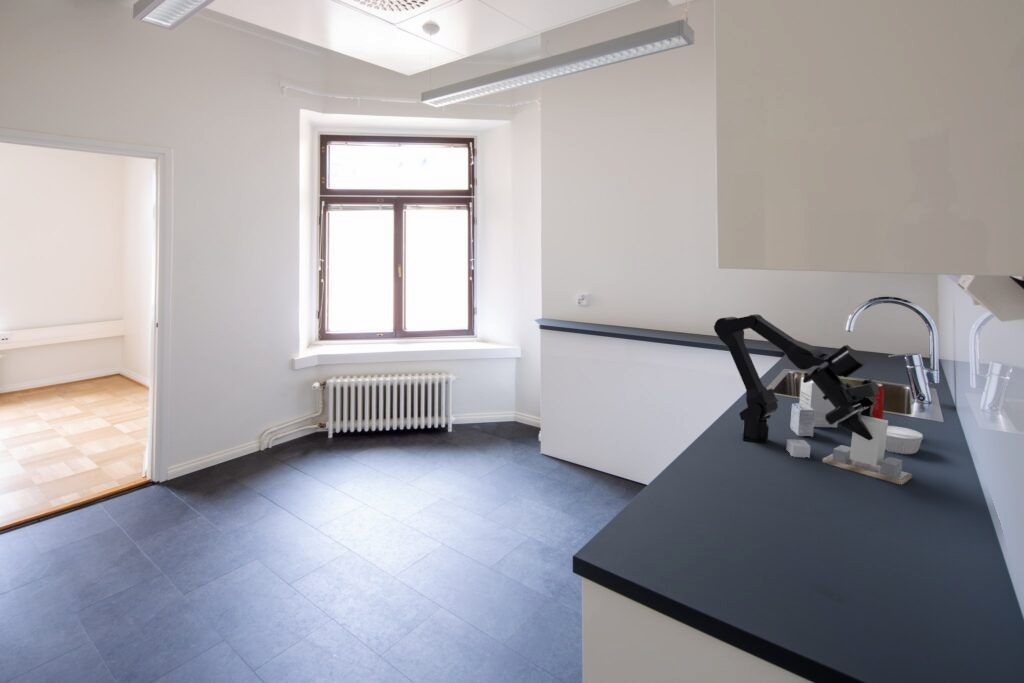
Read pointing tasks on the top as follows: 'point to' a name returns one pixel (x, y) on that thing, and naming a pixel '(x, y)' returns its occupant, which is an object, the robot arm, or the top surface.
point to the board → (868, 472)
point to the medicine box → (802, 419)
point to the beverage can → (878, 403)
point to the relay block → (798, 448)
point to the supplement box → (816, 403)
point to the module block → (870, 442)
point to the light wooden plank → (869, 467)
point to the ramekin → (902, 440)
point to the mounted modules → (887, 465)
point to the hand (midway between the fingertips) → (875, 437)
